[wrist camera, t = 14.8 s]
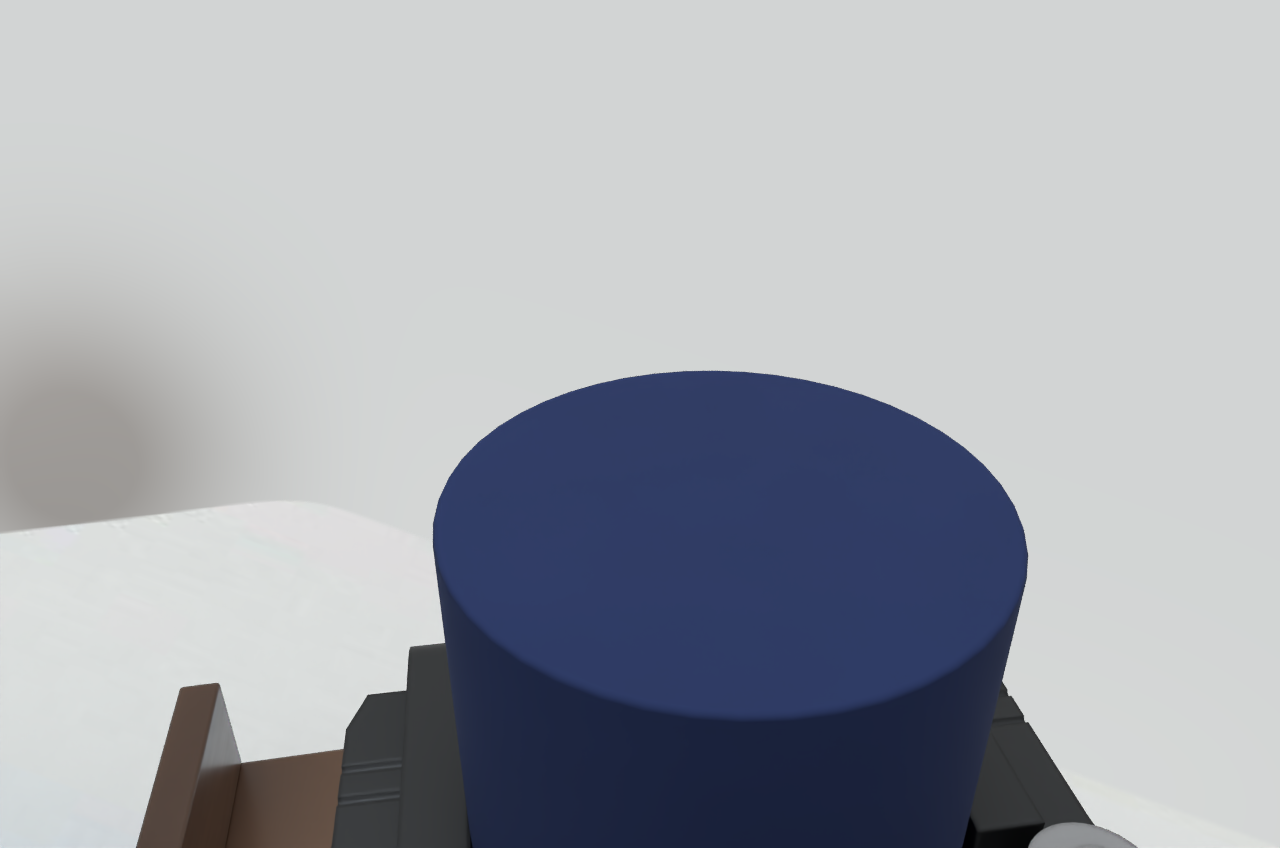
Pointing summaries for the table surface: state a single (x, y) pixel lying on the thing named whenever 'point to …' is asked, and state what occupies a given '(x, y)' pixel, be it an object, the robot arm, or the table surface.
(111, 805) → the table surface
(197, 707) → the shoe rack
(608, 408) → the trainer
